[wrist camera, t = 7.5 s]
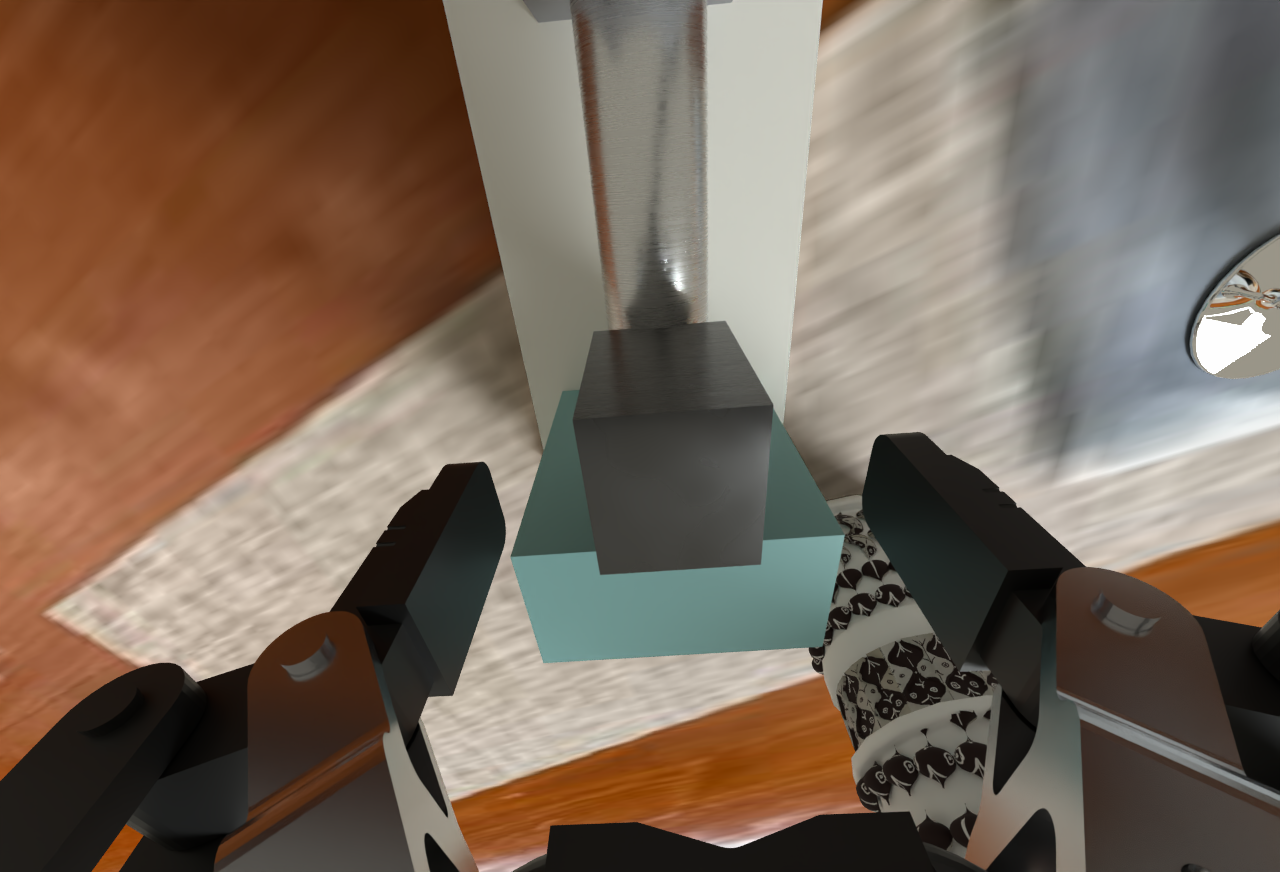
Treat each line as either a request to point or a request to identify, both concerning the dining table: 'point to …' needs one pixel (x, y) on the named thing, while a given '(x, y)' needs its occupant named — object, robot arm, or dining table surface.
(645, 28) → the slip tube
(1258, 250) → the wineglass
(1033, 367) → the dining table surface
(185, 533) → the dining table surface
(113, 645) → the dining table surface
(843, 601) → the decorative candle
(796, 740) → the dining table surface
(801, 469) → the socket
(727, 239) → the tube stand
